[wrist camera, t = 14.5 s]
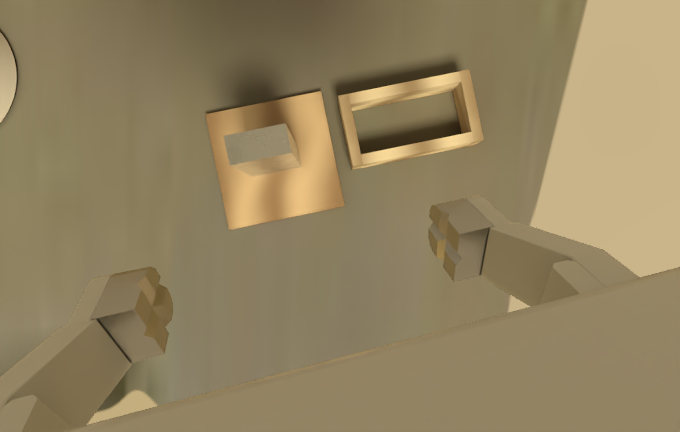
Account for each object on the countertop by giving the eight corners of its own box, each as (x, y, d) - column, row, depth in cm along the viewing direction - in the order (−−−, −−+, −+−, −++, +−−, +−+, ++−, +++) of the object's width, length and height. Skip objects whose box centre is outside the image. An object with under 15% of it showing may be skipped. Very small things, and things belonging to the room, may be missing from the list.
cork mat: (230, 229, 36) (229, 229, 36) (207, 115, 36) (205, 114, 36) (344, 205, 37) (344, 205, 36) (321, 92, 37) (320, 91, 36)
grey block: (253, 176, 36) (229, 165, 28) (248, 153, 36) (223, 135, 28) (301, 167, 36) (291, 152, 28) (296, 144, 36) (285, 123, 28)
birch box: (351, 169, 37) (352, 166, 34) (338, 104, 37) (338, 95, 34) (473, 145, 37) (483, 139, 34) (459, 79, 37) (469, 69, 34)
